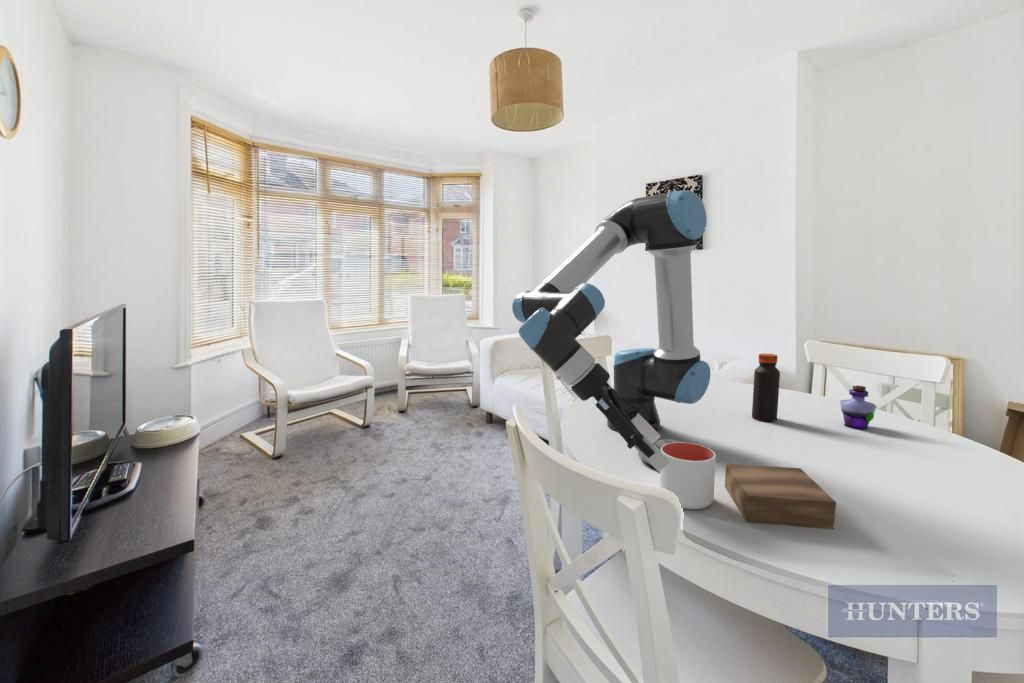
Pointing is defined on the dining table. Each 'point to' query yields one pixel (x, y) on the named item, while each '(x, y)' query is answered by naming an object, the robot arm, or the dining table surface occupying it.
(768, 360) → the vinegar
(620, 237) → the robot arm
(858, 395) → the potion bottle
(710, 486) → the cup
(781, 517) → the walnut block
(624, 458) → the dining table surface
